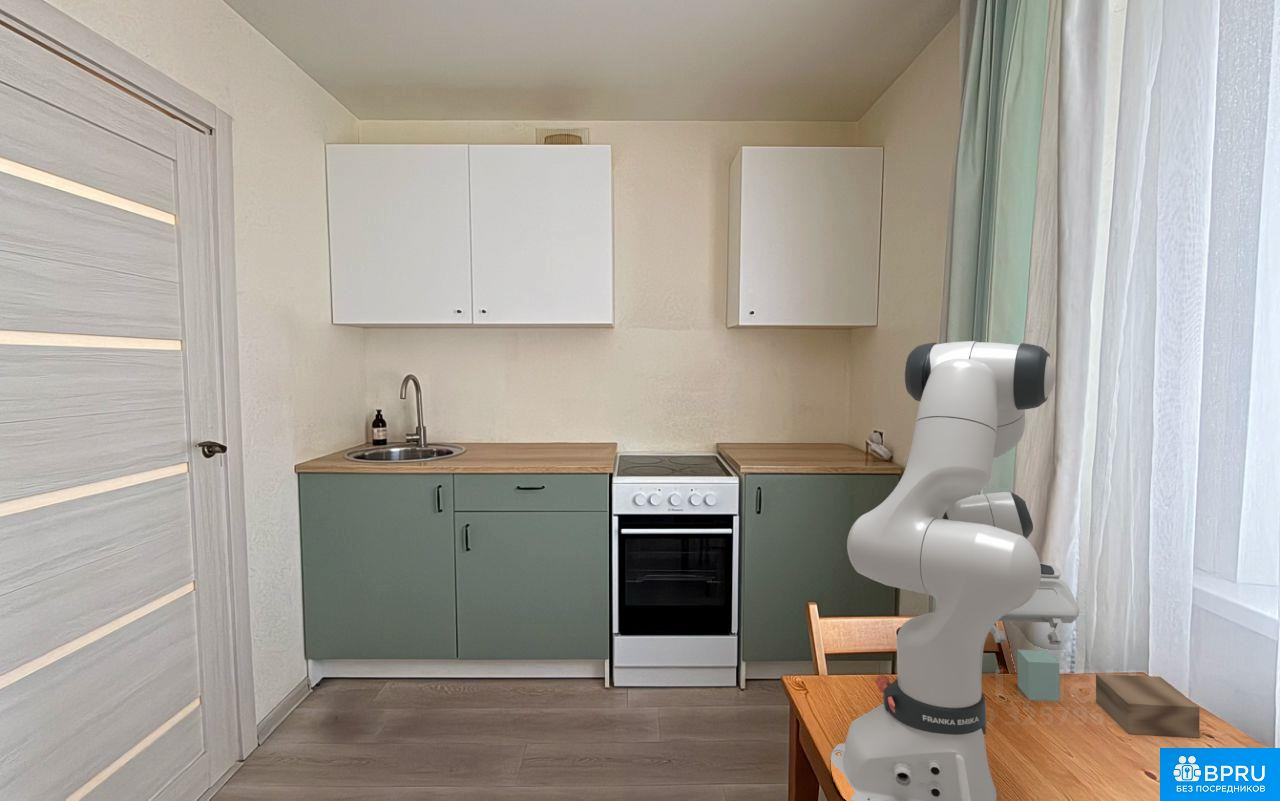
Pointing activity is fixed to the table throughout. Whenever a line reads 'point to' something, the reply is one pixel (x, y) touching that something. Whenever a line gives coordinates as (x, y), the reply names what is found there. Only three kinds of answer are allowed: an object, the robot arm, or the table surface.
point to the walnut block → (1147, 705)
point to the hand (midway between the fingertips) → (1028, 642)
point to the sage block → (1038, 675)
